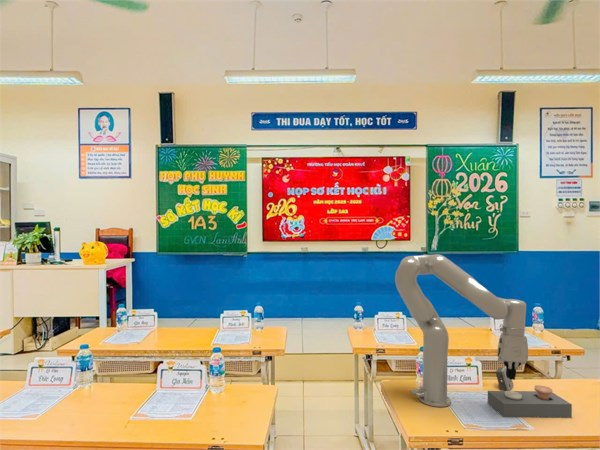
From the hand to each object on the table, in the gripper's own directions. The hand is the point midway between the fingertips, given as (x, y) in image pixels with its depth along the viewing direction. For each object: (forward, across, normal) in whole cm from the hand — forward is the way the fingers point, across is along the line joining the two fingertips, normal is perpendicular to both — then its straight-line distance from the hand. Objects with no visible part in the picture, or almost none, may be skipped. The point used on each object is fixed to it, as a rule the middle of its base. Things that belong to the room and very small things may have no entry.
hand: (510, 378), depth 155 cm
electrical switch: (+12, +10, +22) cm, 27 cm away
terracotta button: (+8, +13, 0) cm, 16 cm away
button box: (+12, +8, 0) cm, 14 cm away
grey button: (+11, +1, 0) cm, 11 cm away
